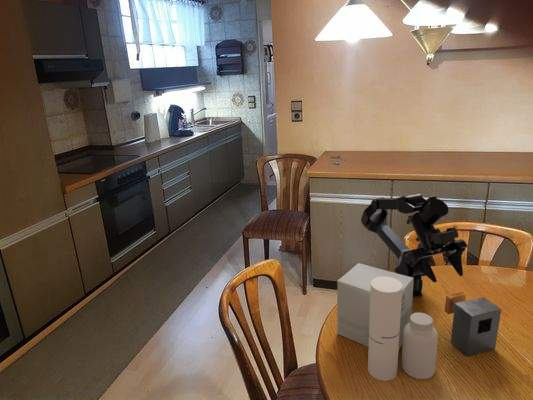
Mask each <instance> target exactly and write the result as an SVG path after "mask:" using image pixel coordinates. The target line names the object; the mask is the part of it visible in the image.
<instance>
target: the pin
mask: <svg viewBox="0 0 533 400" xmlns="http://www.w3.org/2000/svg"><path fill="white" fill-rule="evenodd" d="M466 297H467V295H466V293H464V292H462V291H461V292H457V293H451V294H447V295H446V296H445V302H444V312H445V314H448V315H452V314H454V309H455V303H459V302H464V301H466Z"/></svg>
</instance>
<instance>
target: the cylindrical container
mask: <svg viewBox="0 0 533 400" xmlns="http://www.w3.org/2000/svg"><path fill="white" fill-rule="evenodd" d="M401 301H402V283H401V282H400V281H399V280H397V279H394V278H391V277H377V278H374V279H373V280H372V281H371V289H370V320H369V347H368V349H367V350H368V354H367V356H368V358H367V359H368V360H367V370H368V373H369V375H370V376H371V377H372V378H374V379H376V380H379V381H385V382H387V381H392V380H394V379H395V378H396V376H397V375H398V362H399V350H400V349H399V333H400V317H401ZM398 349H399V350H398Z"/></svg>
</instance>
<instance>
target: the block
mask: <svg viewBox="0 0 533 400" xmlns="http://www.w3.org/2000/svg"><path fill="white" fill-rule="evenodd" d="M501 313H502V308H500V307H499V306H497V305H495V303H493V302H491V301H490V300H489V299H487V298H486V297H484V296H481V297H478V298H473V299H470V300H469V299H468V300H465V301H464V302H459V303H455V309H454V313H453V318H452V326H451V335H450V336H451V337H450V343H451V344H452V345H453V346H454V348H456V349H457V350H458V351H459V352H460V353H462V354H463V356H465V357H467V358H468V357H470V356H475V355H478V354H482V353H486V352H491V351H493V350H494V351H495V350H496V346H497V339H498V333H499V326H500V319H501Z"/></svg>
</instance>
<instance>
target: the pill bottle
mask: <svg viewBox="0 0 533 400" xmlns="http://www.w3.org/2000/svg"><path fill="white" fill-rule="evenodd" d="M438 339H439V334H438V331H437V329H436V328H435V327H434V319H433V318H432V316H430V315H429V314H427V313H424V312H414V313H412V315H411V316H410V322H409V323H408V324H406V326H405V327H404V330H403V345H402V351H401V352H402V353H401V355H402V356H401V367H402V370H403V371H404V372H405V373H406V374H407V375H408V376H410V377H411V378H414V379H418V380H427V379H430V378H432V377H433V376H434V375H435V373H436V363H437V361H436V360H437V351H438Z"/></svg>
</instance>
